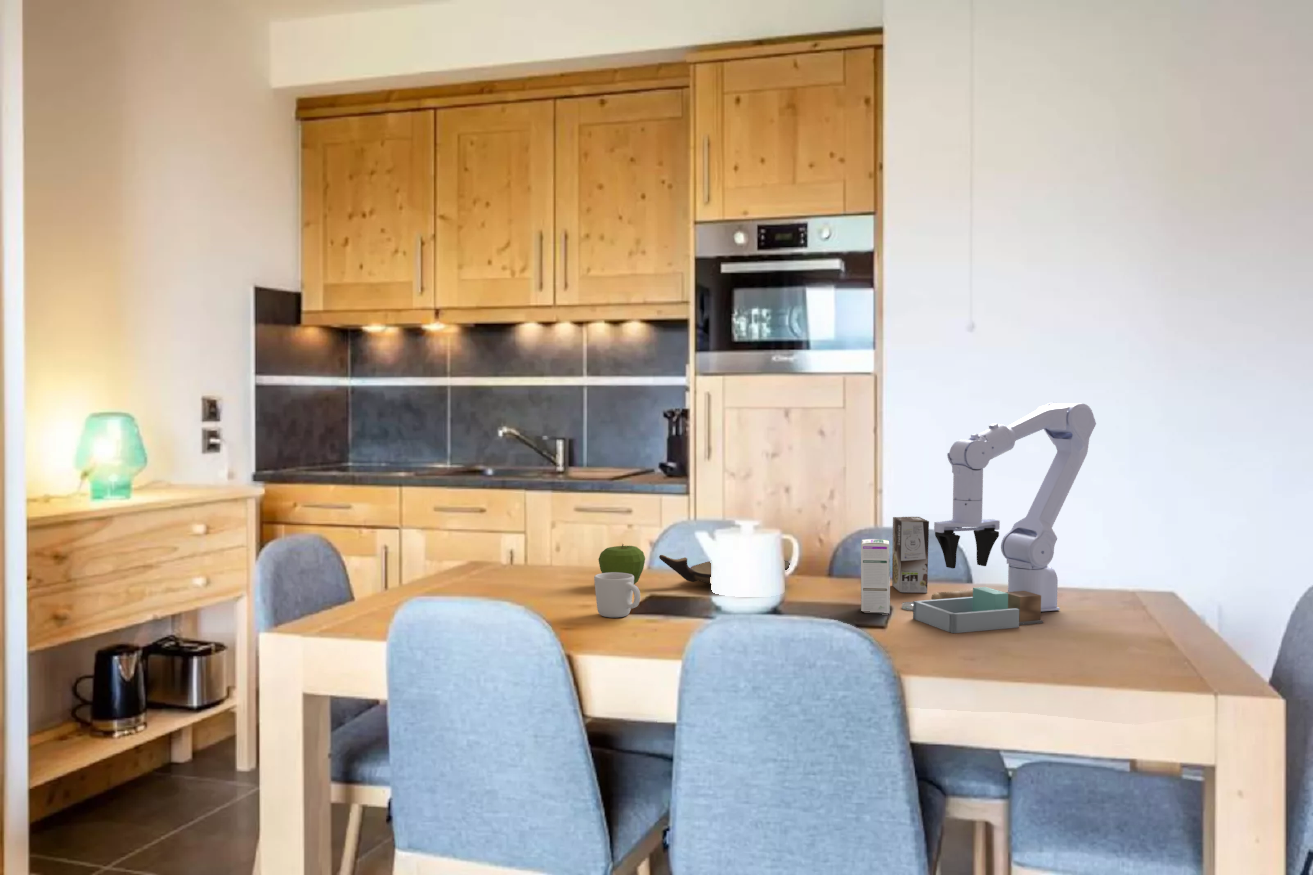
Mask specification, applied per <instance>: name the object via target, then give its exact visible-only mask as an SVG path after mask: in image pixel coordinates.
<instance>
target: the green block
mask: <svg viewBox="0 0 1313 875" xmlns="http://www.w3.org/2000/svg"><path fill="white" fill-rule="evenodd" d="M972 590H973V610H972V612H975V611H988V610H1000V609H1008V593H1005V592H1006V591H1001V590H997V589H995V588H990V587H988V586H979V587H972Z"/></svg>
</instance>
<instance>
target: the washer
mask: <svg viewBox="0 0 1313 875" xmlns="http://www.w3.org/2000/svg"><path fill="white" fill-rule="evenodd" d="M901 609H902V610H905V611H910V612H913V601H905V602H902V603H901Z"/></svg>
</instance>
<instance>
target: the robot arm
mask: <svg viewBox="0 0 1313 875" xmlns="http://www.w3.org/2000/svg"><path fill="white" fill-rule="evenodd" d="M1096 425H1097V421H1096V419H1095V416H1094V413H1093V410H1092V409H1091V407H1090V406H1089V405H1087V404H1086V403H1081V402H1078V403H1057V402H1048V403H1047V404H1044V405H1041V406H1038V407H1037V409H1036V410H1033V411H1032V412H1030V413H1028V414H1027V415H1025V416H1023V417H1021V418H1019V419H1018V420H1016V421H1013V423H1010V424H1009V425H1005V424H1003V423H991V424H989V425H988V428H987V429H984V431H981V432H979V433H973V434H970V437H969V438H968V439H958V440H956V441H955V442H954V443H953V444H952V445H951V447H950V449H949V452H947V453H946V454H947V455H946V456H947V459H948V463H949V464H950V466H951V473H952V474H953V477H952V478H953V479H952V480H953V484H952V486H953V488H952V518H951V519H949V520H942V521H934V524H933V532H934V535H935V538H936V539H937V541H938V544H939V546H940V549H941V551H942V554H943V558H944V559H943V560H944V562H945V567H946V568H948V569H955V568H956V565H957V564H956V563H957V550H958V545H959V542H960V538H961V535H958V534H956V533H955V532H968V531H969V532H970V531H972V532H973V534H974V539H975V545H976V546H975V547H976V565H978V566H981V567H987V564H988V561H989V558H990V554H991V551H992V550H993V546H994V545H995V543H996V542H997V539H999V537H1000V531H998V530H1000V524H1001V523H1000V522H1001V520H999V519H994V518H992V519H990V518H989V519H985V518H983V493H984V492H983V491H984V490H983V489H984V480H983V479H984V469H985V468H986V467H987V466H988V465H989V462H990V460H993V459H994V458H997V457H998V456H1000V455H1003V454H1005V453H1007V452H1009V451H1011V450H1013V448H1014V447H1015V444H1016V441H1018V440H1021V439H1023V438H1026V437H1028V436H1030V435H1033V434H1035V433H1037V432H1040V431H1042V430H1044V432H1045V434H1046V435H1047V437H1048V438H1049V440H1050V441H1051V442H1052V444H1053V446H1055V449H1056V453H1055V456H1054V458H1053V459H1052V460H1053V461H1052V462H1051V464H1050V467H1049V468H1048V471H1047V472H1046V474H1045V476H1044V478H1043V480H1042V483H1041V485H1040V487H1039V489H1038V491H1037V493H1036V495H1035V497H1034V499H1033V502H1032V503H1031V506H1030V508H1029V510H1028V512H1027V514H1026V516H1025V517H1023V518H1022V519H1020V520H1018V521H1017V522H1015V523H1014V524H1013V526H1012V528H1011V530H1010V531H1009V532H1007V533H1006V534H1005V535H1004V536H1003V537H1002V540H1001V543H1000V550H1001V554H1002V556H1003V557H1004V558H1005V559H1006V564H1007V565H1008V567H1007V568H1008V569H1007V572H1008V573H1007V574H1008V575H1007V576H1008V577H1007V592H1015V591H1027V592H1031V593H1034V594H1038V595H1041V612H1050V611H1052V612H1053V611H1060V607H1059V606H1058V589H1059V588H1058V586H1059V585H1058V581H1059V580H1058V576H1057V573H1056V571H1055V569H1054V568H1053V567H1052V566H1050V565H1049V564H1050V563H1051V561H1052V560H1053V558H1054V554H1055V545H1056V542H1057V541H1058V537H1057V535H1056V533H1055V531H1054V530H1053V527H1054V524H1055V522H1056V520H1057V517H1058V516H1059V514H1060V512H1061V510H1062V507H1063V506H1064V503H1065V501H1066V499H1067V496H1068V495H1069V493H1070V490H1072V487H1073V485H1074V482H1075V480H1076V478H1077V476H1078V474H1079V473H1080V469H1081V468H1082V466H1083V463H1084V461H1085V459H1086V457H1087V454H1088V452H1089V444H1090V438H1091V436H1092V433H1093V431H1094V429H1095V427H1096Z"/></svg>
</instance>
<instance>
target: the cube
mask: <svg viewBox="0 0 1313 875" xmlns="http://www.w3.org/2000/svg"><path fill="white" fill-rule="evenodd" d="M1004 592H1005V593H1008V609H1012V608H1017V609H1019V622H1024V621H1036V620H1041V618H1042V616H1041V614H1042V613H1041V595H1038V594H1034V593H1031V592H1027V591H1015V592H1008V591H1004Z"/></svg>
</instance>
